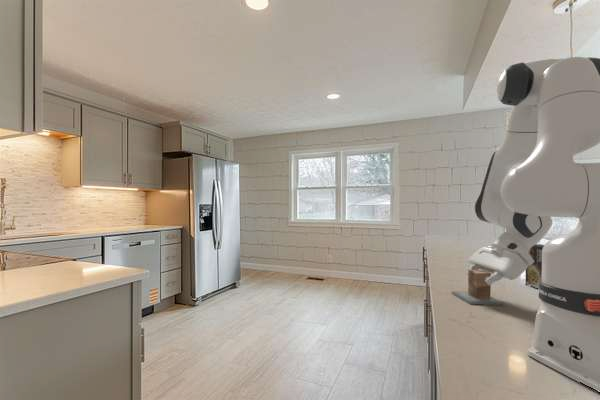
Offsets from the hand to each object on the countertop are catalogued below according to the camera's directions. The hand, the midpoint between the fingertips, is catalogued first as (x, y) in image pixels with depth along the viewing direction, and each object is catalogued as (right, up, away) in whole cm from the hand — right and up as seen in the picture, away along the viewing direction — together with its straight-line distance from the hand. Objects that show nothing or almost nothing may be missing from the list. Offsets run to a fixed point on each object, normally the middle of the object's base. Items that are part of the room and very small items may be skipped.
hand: (477, 279), depth 96 cm
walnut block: (+1, -5, 0) cm, 5 cm away
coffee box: (+33, -8, +15) cm, 37 cm away
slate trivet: (0, -6, 0) cm, 6 cm away
